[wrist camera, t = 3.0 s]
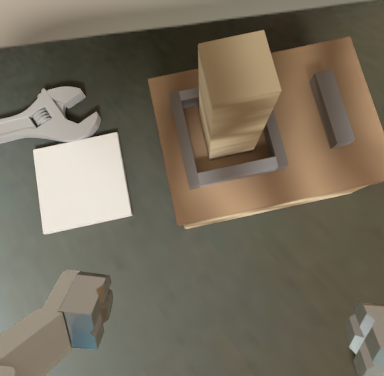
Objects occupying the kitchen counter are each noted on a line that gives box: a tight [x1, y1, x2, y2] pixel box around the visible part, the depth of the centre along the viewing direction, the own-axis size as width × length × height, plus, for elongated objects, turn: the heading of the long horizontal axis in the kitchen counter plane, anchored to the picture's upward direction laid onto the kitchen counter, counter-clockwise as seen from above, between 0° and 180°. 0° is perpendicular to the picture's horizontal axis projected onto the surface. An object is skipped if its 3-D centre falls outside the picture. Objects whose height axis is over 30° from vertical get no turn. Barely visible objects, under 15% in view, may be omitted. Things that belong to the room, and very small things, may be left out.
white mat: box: [33, 132, 133, 234], centre depth 35 cm, size 9×9×1 cm
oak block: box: [198, 30, 282, 160], centre depth 23 cm, size 4×4×10 cm
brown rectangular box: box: [148, 37, 384, 229], centre depth 31 cm, size 18×13×10 cm
